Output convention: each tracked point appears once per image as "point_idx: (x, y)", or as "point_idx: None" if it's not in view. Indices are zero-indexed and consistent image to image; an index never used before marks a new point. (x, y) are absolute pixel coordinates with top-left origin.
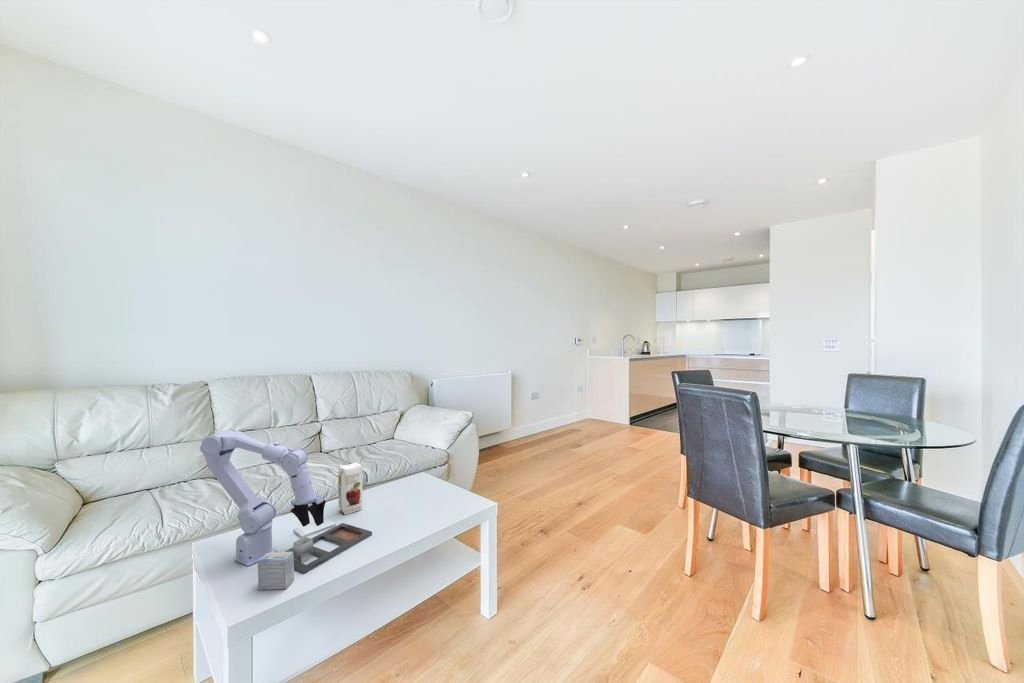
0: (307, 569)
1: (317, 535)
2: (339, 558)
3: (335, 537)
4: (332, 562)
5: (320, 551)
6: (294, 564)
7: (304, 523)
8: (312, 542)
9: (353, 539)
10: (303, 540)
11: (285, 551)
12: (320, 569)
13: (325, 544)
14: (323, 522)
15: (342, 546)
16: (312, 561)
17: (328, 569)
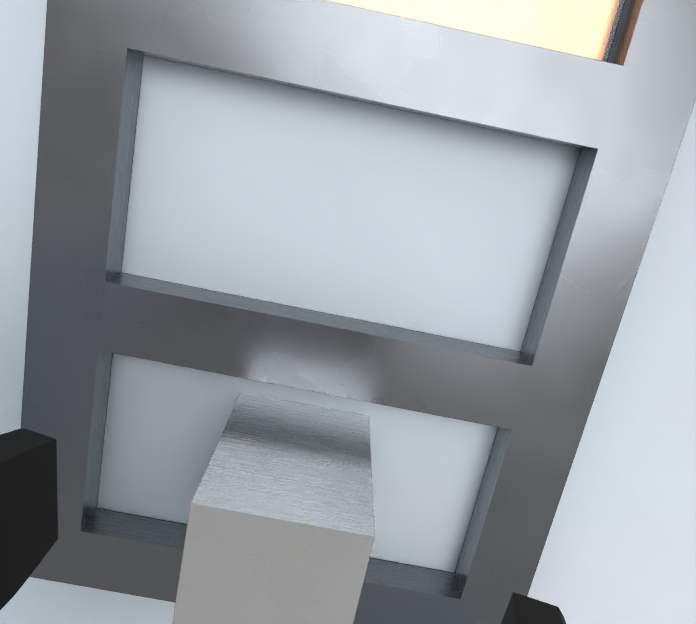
0: None
1: (46, 54)
2: (668, 365)
3: (355, 39)
4: (639, 439)
5: (418, 378)
6: None
7: (17, 561)
8: (373, 516)
9: (661, 22)
10: (265, 590)
11: None
12: (597, 551)
13: (290, 156)
14: (561, 613)
15: (616, 223)
16: (480, 544)
17: (675, 535)
